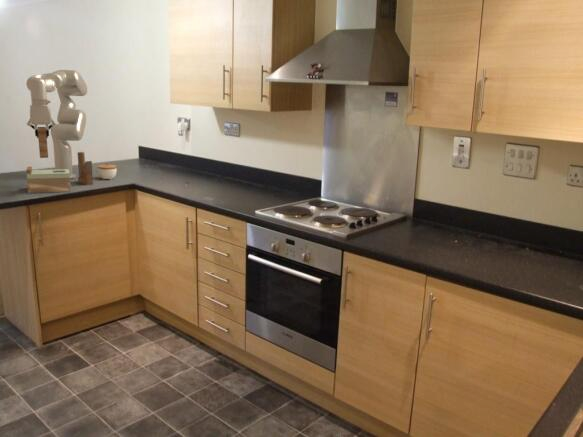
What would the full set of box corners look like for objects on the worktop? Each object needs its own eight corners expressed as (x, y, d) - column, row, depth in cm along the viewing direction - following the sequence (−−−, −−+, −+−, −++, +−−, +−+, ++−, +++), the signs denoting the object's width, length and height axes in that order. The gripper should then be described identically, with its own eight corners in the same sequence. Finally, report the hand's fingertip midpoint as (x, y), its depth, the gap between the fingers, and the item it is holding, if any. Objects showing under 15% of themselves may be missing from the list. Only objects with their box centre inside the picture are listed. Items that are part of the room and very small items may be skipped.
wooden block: (87, 186, 294) (85, 154, 289) (77, 183, 301) (76, 152, 296) (93, 186, 297) (91, 154, 292) (84, 182, 304) (82, 151, 299)
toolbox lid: (28, 174, 279) (27, 166, 278) (69, 173, 287) (68, 165, 285) (27, 179, 268) (26, 170, 267) (69, 177, 276) (69, 169, 275)
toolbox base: (29, 189, 281) (28, 174, 279) (70, 188, 289) (69, 173, 287) (28, 194, 270) (27, 179, 268) (70, 192, 278) (69, 177, 276)
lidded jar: (102, 181, 311) (101, 165, 308) (95, 178, 318) (94, 162, 316) (120, 179, 318) (119, 163, 315) (112, 176, 325) (112, 161, 323)
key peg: (40, 156, 287) (37, 126, 283) (48, 156, 289) (45, 126, 284) (40, 157, 284) (37, 127, 279) (48, 157, 285) (45, 127, 281)
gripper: (56, 102, 285) (59, 136, 290) (22, 101, 278) (25, 136, 283) (56, 103, 278) (59, 138, 283) (21, 103, 272) (24, 138, 277)
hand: (42, 137), depth 283 cm, fingers closed on key peg, 4 cm apart
